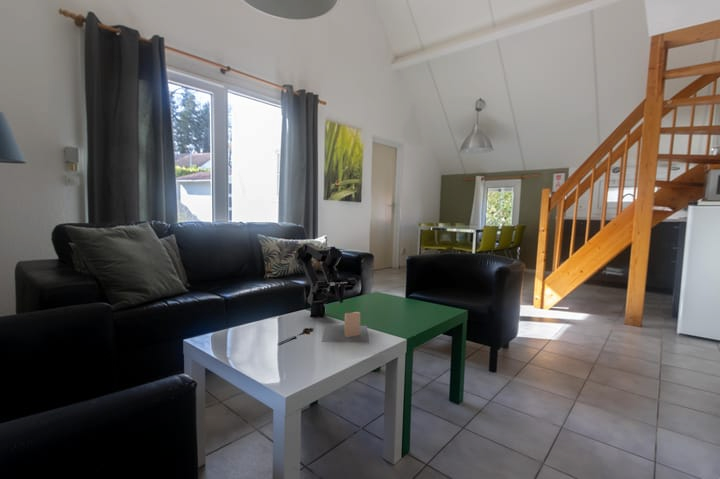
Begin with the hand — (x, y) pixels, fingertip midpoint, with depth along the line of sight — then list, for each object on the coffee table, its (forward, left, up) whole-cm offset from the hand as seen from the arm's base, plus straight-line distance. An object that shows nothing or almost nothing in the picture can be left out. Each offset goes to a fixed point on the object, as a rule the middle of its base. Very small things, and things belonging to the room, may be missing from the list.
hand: (341, 302), depth 146 cm
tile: (+4, -8, -11) cm, 14 cm away
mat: (+2, -5, -12) cm, 13 cm away
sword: (-18, -11, -12) cm, 24 cm away
